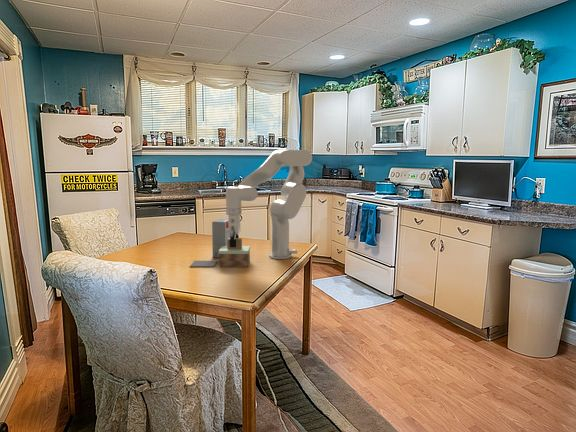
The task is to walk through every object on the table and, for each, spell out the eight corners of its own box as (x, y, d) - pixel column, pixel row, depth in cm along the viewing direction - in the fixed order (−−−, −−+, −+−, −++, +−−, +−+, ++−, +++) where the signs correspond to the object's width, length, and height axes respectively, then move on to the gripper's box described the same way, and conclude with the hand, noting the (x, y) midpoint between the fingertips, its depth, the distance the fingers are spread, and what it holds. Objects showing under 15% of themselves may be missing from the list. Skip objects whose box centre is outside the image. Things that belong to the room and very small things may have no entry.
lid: (250, 250, 193) (250, 236, 191) (248, 255, 182) (247, 241, 181) (222, 250, 192) (222, 236, 191) (218, 255, 182) (218, 241, 181)
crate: (249, 261, 193) (249, 248, 192) (247, 267, 183) (247, 253, 182) (223, 261, 193) (222, 248, 192) (219, 267, 183) (219, 253, 182)
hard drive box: (225, 258, 200) (224, 222, 196) (212, 257, 201) (211, 221, 198) (235, 251, 215) (234, 217, 211) (222, 250, 216) (221, 217, 213)
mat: (217, 261, 193) (217, 260, 193) (213, 267, 183) (213, 266, 183) (194, 261, 193) (194, 260, 193) (189, 267, 183) (189, 266, 183)
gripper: (239, 214, 175) (239, 249, 178) (243, 209, 192) (243, 241, 195) (223, 214, 175) (224, 248, 178) (229, 209, 192) (229, 241, 195)
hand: (234, 244), depth 186 cm, fingers open, 9 cm apart
